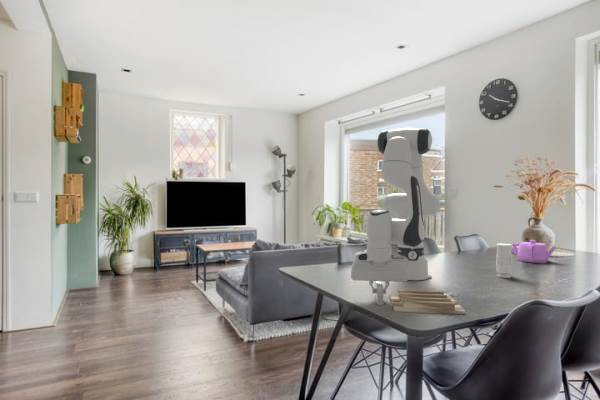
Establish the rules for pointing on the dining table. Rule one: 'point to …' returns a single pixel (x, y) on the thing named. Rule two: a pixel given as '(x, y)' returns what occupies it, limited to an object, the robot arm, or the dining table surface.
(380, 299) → the blanking panel
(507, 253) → the candle
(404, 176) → the robot arm
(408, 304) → the rack
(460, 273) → the dining table surface
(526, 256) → the teakettle
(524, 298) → the dining table surface
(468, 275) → the dining table surface
